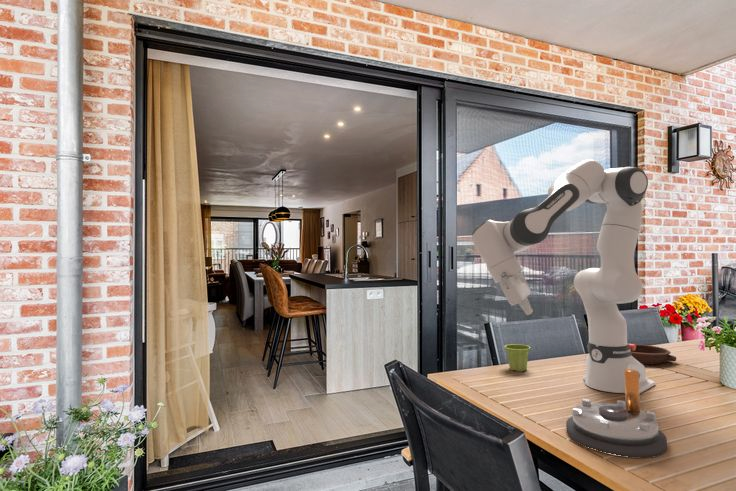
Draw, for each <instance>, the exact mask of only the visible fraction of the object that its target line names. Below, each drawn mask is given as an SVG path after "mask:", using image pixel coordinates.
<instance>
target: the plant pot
mask: <svg viewBox="0 0 736 491" xmlns="http://www.w3.org/2000/svg"><path fill="white" fill-rule="evenodd" d="M504 349H505V351H506V355H507V360H508V365H509V370H511V371H516V372H525V371H527V369H528V361H529V359H528V357H529V353H530V349H531V347H530V345H525V344H520V343H518V344H516V343H515V344H513V343H512V344H511V343H510V344H505V345H504Z"/></svg>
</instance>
